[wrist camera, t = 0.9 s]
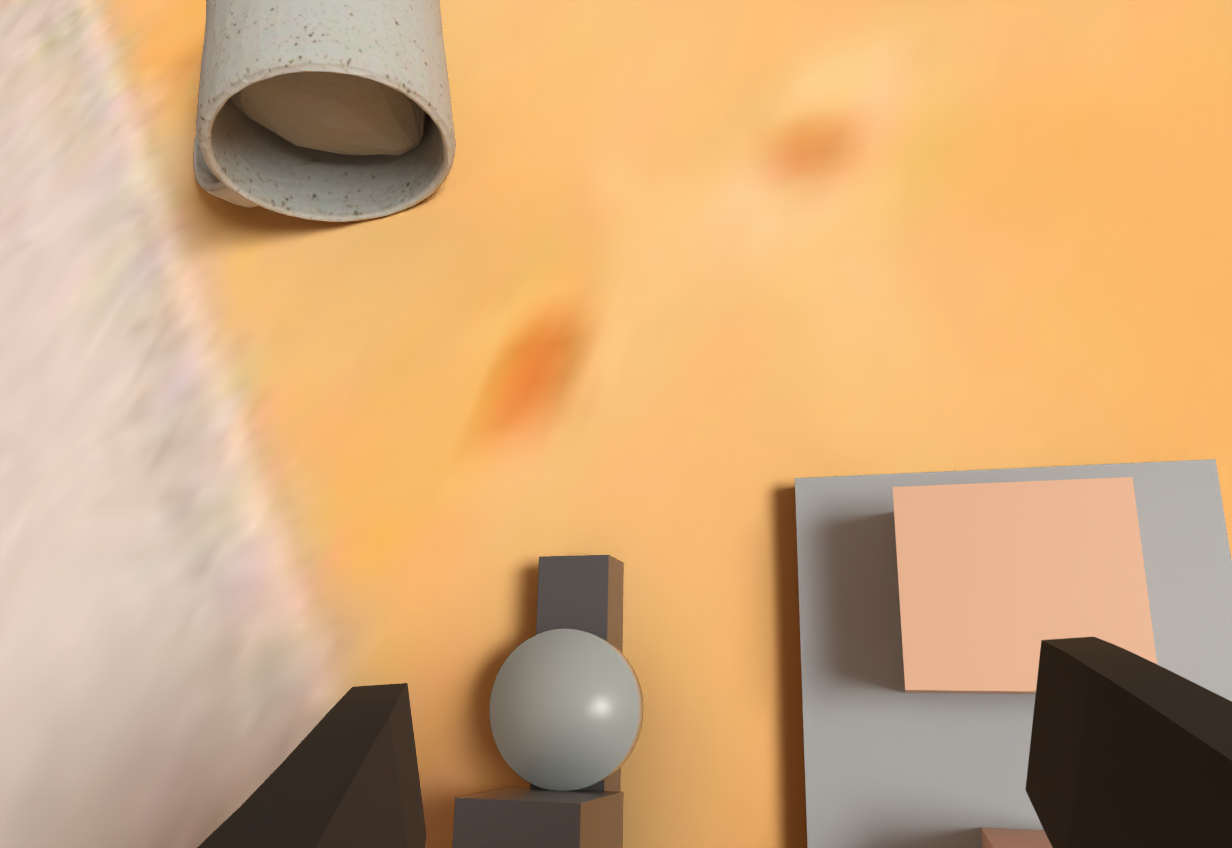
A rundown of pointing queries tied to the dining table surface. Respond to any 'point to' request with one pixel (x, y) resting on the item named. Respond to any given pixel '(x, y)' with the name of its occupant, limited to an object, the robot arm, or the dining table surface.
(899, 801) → the display stand
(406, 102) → the ceramic mug
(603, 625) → the stacked ball block column
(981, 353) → the dining table surface
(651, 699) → the dining table surface
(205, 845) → the robot arm
